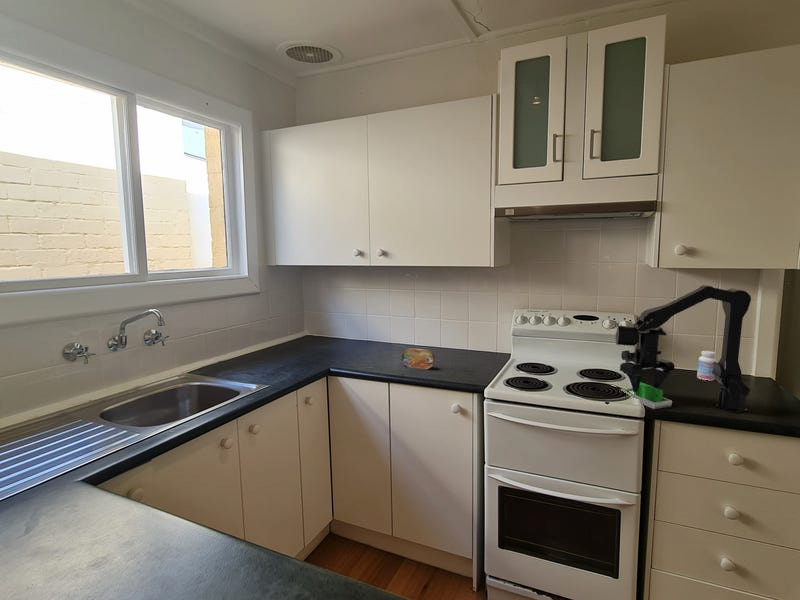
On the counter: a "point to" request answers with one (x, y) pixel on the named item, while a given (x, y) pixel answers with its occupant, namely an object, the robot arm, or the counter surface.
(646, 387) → the pipe clamp
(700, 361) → the pill bottle
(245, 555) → the counter surface
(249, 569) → the counter surface
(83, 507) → the counter surface
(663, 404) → the grey rectangular tray
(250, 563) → the counter surface
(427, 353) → the tin
